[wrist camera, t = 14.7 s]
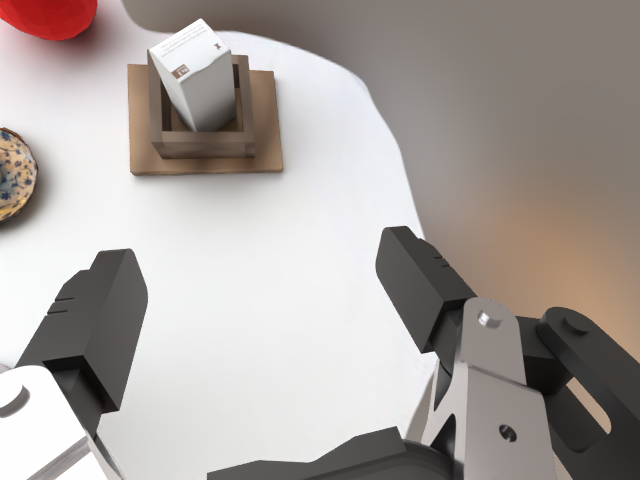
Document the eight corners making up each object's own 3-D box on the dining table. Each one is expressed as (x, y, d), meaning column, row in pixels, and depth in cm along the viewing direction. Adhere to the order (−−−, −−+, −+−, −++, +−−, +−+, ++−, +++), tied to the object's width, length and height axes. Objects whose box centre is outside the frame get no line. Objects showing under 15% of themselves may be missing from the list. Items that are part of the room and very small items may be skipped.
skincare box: (215, 93, 40) (200, 11, 28) (239, 118, 40) (234, 48, 29) (176, 119, 38) (143, 44, 27) (201, 146, 39) (179, 83, 27)
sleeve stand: (134, 175, 37) (113, 155, 32) (131, 70, 39) (111, 35, 34) (281, 171, 42) (286, 153, 36) (272, 77, 44) (275, 46, 38)
